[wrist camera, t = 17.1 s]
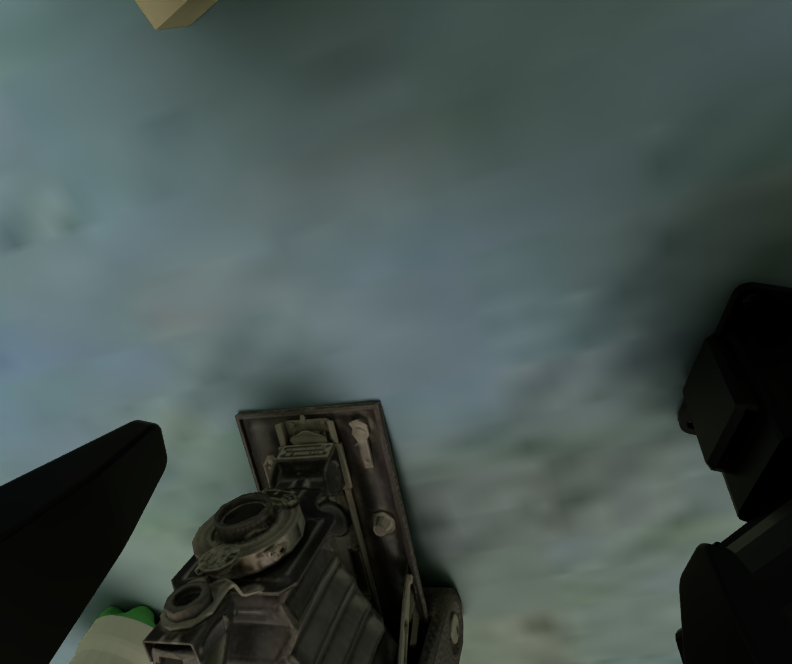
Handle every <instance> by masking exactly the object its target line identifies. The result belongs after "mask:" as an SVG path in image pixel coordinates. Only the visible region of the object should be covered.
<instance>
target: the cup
mask: <svg viewBox="0 0 792 664" xmlns="http://www.w3.org/2000/svg"><path fill="white" fill-rule="evenodd" d="M155 626H156V625H155V622H154V614H153V612H152V611H151V610H150V609H149V608H148V607H146V606H139V607H136V608H133V609H131V610H130V611H128V612H126V613H124V612H123V611H122V610H121V609H119V608H117V607H113V606H109V607H108V608H106V609H105V610H104V611H103V612H102V613H101V614H100V615H99V616H98V618H97V619H96V620H95V622H94V623H93V624H92V626H91V627H90V629H89V630H88V631H87V633H86V634H85V636H84V637H83V639H82V640H81V642H80V644H79V646H78V648H77V651H76V654H75V656H74V658H73V659H72V660H71V662H70V663H69V664H153V662H150V661H149V659H148V656H147V654H146V651H145V649H144V646H143V644H142V641H143V640H144V639H145V638H146V637H147V635H148V634H149V633H150V632H151V631H152V630H153V628H154V627H155Z"/></svg>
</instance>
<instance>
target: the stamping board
mask: <svg viewBox="0 0 792 664" xmlns="http://www.w3.org/2000/svg"><path fill="white" fill-rule="evenodd" d="M135 1H136V3H137V4H138V6H139V7H140V9H141V10H142V12H143V13H144V14H145V16H146V17H147V19H148V20H149V22H150V23H151V25H152V26H153V27H154V29H155V30H161V29H169V28H177V27H185V26H190V25H191V24H193V23H194V22H195V21H196V20H197V19H198V18H199V17H200V16H201V15H203V14H204V13H205V12H206V11H207V10H208V9H209V8H210V7H212V6H213V5H214V4H215V3H216V2H217V1H218V0H135Z"/></svg>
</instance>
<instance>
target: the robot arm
mask: <svg viewBox="0 0 792 664" xmlns="http://www.w3.org/2000/svg"><path fill="white" fill-rule="evenodd" d="M750 294H756V298H755V299H754V300H752V301H750V302H744V301H743V300H744V298H745V297H746V296H748V295H750ZM683 395H684V399H685V401H684V403H683V406H682V408H681V410H680V412H679V415H678V422H679V425H680V428H681V429H682V430H683V431H684V432H686V433H689V434H693V435H697V438H698V441H699V444H700V447H701V450H702V453H703V456H704V459H705V462H706V464H707V465H708V466H709V468H710V469H711V470H713V471H718V472H722V474H723V477H724V479H725V482H726V485H727V488H728V491H729V493H730V496H731V499H732V502H733V505H734V507H735V510H736V513H737V516H738V517H739V519H740V520H743V521H745V522H747V523H746V524H745V525H743V526H742V527H741V528H739V529H738V530H737V531H735V532H734V533H733V534H731V535H730V536H729V537H728V538H726V539H725V540H724V541H722V542H721V543H720V542H715V543H714V544H707V543H702V544H700V545H698V547H697V548H696V549H695V551H694V553H693V555H692V557H691V558H690V560H689V562H688V564H687V566H686V567H685V569H684V571H683V573H682V575H681V578H680V584H679V593H680V608H681V623H682V628H681V629H679V630H678V631H677V632H676V634H675V635H676V642H677V646H678V649H679V652H680V655H681V659H682V662H683V664H792V288H788V287H781V286H775V285H768V284H761V283H755V282H748V283H745V284H741V285H740V286H738V287H737V288H736V289H735V290H734V292H733V293H732V295H731V298H730V300H729V302H728V304H727V307H726V309H725V311H724V313H723V316H722V318H721V320H720V322H719V325H718V327H717V329H716V331H715V334H712V335H710V336H709V337H707V338H706V339H705V340H704V342H703V345H702V347H701V349H700V351H699V354H698V356H697V358H696V361H695V363H694V365H693V367H692V370H691V372H690V374H689V377H688V379H687V381H686V384H685V386H684V388H683ZM689 420H692V423H689V422H688V421H689ZM166 464H167V454H166V449H165V444H164V440H163V435H162V431H161V428H160V427H159V425H158V424H156V423H151V422H147V421H142V420H135V421H132V422H130V423H128V424H126V425H123V426H121V427H119V428H117V429H115V430H113V431H111V432H109V433H107V434H105V435H103V436H101V437H99V438H97V439H95V440H93V441H91V442H89V443H87V444H85V445H83V446H81V447H79V448H77V449H75V450H73V451H71V452H69V453H67V454H65V455H63V456H61V457H59V458H57V459H55V460H53V461H51V462H48V463H46V464H44V465H42V466H40V467H38V468H36V469H34V470H32V471H30V472H28V473H26V474H24V475H22V476H20V477H18V478H16V479H14V480H12V481H10V482H8V483H6V484H4V485H2V486H0V664H49V663H50V661H51V660H52V658H53V657H54V655H55V654H56V652H57V650H58V649H59V647H60V646H61V644H62V643H63V641H64V640H65V638H66V637H67V635H68V634H69V632H70V631H71V629H72V627H73V626H74V624H75V623H76V621H77V620H78V618H79V617H80V615H81V614H82V612H83V611H84V609H85V608H86V606H87V604H88V603H89V601H90V600H91V598H92V597H93V595H94V594H95V592H96V591H97V589H98V588H99V586H100V585H101V583H102V581H103V580H104V578H105V577H106V575H107V574H108V572H109V571H110V569H111V568H112V566H113V565H114V563H115V562H116V560H117V558H118V557H119V555H120V554H121V552H122V550H123V549H124V547H125V545H126V543H127V542H128V540H129V538H130V536H131V534H132V533H133V531H134V529H135V527H136V525H137V523H138V521H139V519H140V517H141V515H142V513H143V511H144V509H145V507H146V505H147V503H148V502H149V500H150V498H151V496H152V494H153V492H154V490H155V488H156V486H157V484H158V482H159V480H160V478H161V476H162V474H163V473H164V470H165V468H166Z"/></svg>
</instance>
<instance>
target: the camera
mask: <svg viewBox="0 0 792 664" xmlns="http://www.w3.org/2000/svg"><path fill="white" fill-rule="evenodd" d="M235 418H236V421H237V425H238V428H239V431H240V434H241V438H242V441H243V444H244V447H245V451H246V454H247V457H248V461H249V464H250V467H251V470H252V474H253V477H254V480H255V484H256V487H257V490H258V492H254V493H248V494H244V495H241V496H239V497H237V498H235V499H234V500H232V501H230V502H228V503H226V504H224V505H222V506H221V507H220V508H219V510H218V511H217V512H216V513H215V514H214V515H213V516H212V517H211V518H210V519H209V520H207V521H206V522H205V523H204V524H203V525H202V526H201V527H200V528H199V530H198V532H197V533H196V535H195V537H194V539H193V541H192V545H193V550H194V555H193V556H192V557H191V559H190V560H189V561H188V562H187V563H186V564H185V565H184V566H183V568H182V569H181V570H180V571H179V572H178V573H177V574H176V575H175V576H174V578H173V579H172V580H171V582H172V585H173V589H174V592H173V593H172V594H171V595H170V596H169V597H168V598H167V600H166V603H165V605H164V610H163V611H162V613H161V615H160V619H161V620H160V621H159V623H158V624H157V625H156V626H155V627H154V628H153V630H152V631H151V632H150V633H149V634H148V635H147V637H146V638H145V639H144V640H143V641H142V644H143V646H144V649H145V651H146V654H147V656H148V659H149V661H150V662H153V664H459V660H460V655H461V651H462V646H463V616H462V608H461V601H460V598H459V596H458V593H457V592H456V591H455V590H454V589H453V588H438V587H422V585H421V580H420V576H419V571H418V567H417V562H416V558H415V554H414V549H413V545H412V540H411V536H410V531H409V527H408V523H407V518H406V514H405V509H404V505H403V500H402V496H401V492H400V487H399V483H398V478H397V474H396V469H395V465H394V461H393V456H392V452H391V447H390V443H389V438H388V434H387V430H386V425H385V421H384V416H383V412H382V407H381V403H380V401H378V402H366V403H353V404H341V405H328V406H316V407H304V408H292V409H280V410H268V411H256V412H244V413H238V414H237V415H235Z"/></svg>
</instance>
